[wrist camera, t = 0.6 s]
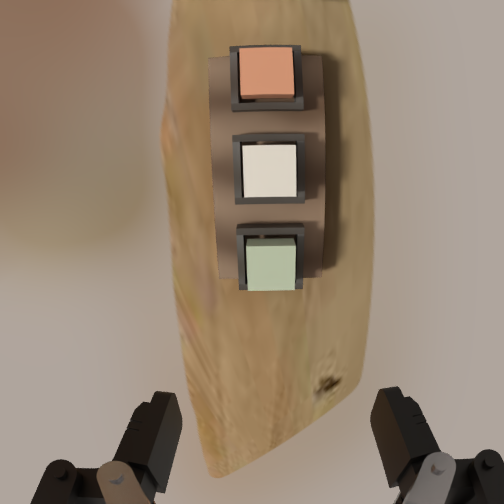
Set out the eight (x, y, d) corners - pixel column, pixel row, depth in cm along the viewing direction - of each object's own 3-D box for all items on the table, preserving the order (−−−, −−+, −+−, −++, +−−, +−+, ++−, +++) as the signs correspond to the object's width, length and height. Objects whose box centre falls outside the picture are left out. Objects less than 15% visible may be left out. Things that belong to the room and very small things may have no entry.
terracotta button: (241, 55, 21) (239, 48, 19) (289, 54, 20) (291, 47, 19) (242, 99, 22) (240, 95, 20) (291, 98, 22) (294, 94, 20)
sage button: (247, 238, 26) (246, 246, 24) (293, 238, 26) (295, 245, 24) (249, 280, 27) (248, 290, 26) (292, 279, 27) (294, 290, 25)
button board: (212, 59, 24) (205, 48, 20) (317, 57, 23) (324, 46, 20) (222, 274, 31) (217, 289, 28) (318, 273, 31) (323, 288, 28)
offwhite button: (244, 145, 23) (242, 145, 21) (293, 145, 23) (295, 144, 21) (245, 193, 25) (244, 197, 23) (293, 192, 25) (296, 196, 23)
